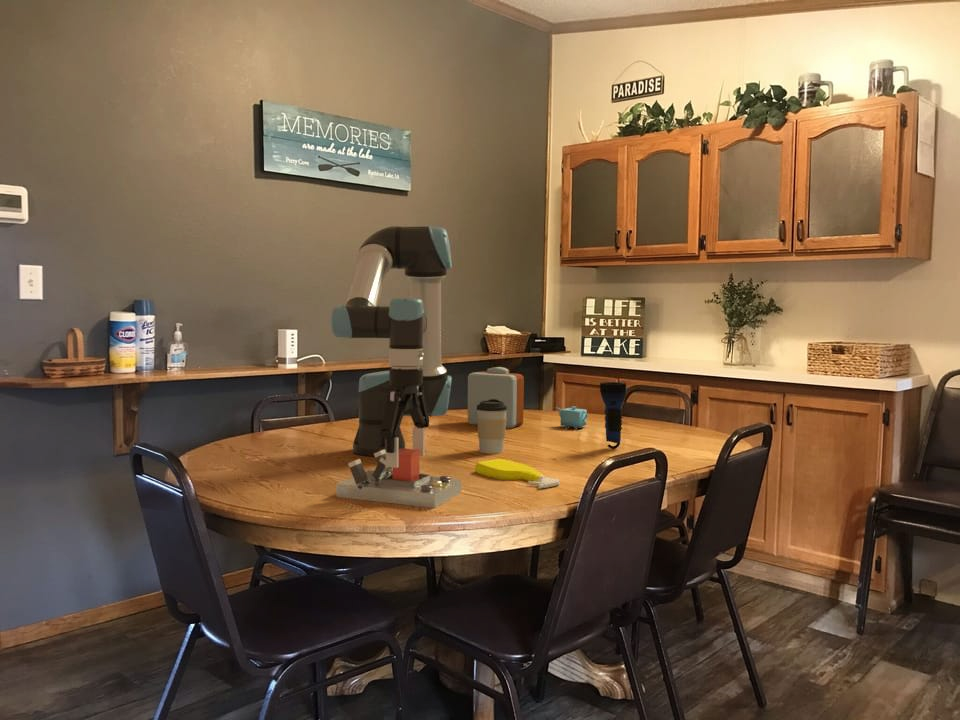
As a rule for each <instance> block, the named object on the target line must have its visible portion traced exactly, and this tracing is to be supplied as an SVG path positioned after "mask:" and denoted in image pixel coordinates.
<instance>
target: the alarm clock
mask: <svg viewBox="0 0 960 720" xmlns="http://www.w3.org/2000/svg"><path fill="white" fill-rule="evenodd" d="M524 385H525V377H524V376H523V375H522V374H520V373H512V372H511V373H510V369H508V368H507V367H502V366H497V367H496V366H495V367H490V368H487V370H486V371H476V372H471V373H469V374H468V376H467V423H469V424H470V425H473V426H478V424H477V417H478V416H477V405H479V404H480V402H481V401H488V400H490V399H497V400H499V401H502V402H504V405H506V406H507V411H506V429H513V428H516V427H519V426H522V425H523V423H524V397H525V395H524V394H525V391H524V390H525V388H524V387H525V386H524Z"/></svg>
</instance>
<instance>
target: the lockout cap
mask: <svg viewBox="0 0 960 720" xmlns="http://www.w3.org/2000/svg"><path fill="white" fill-rule="evenodd" d="M420 453H421V450H416V449H413V448H405V449H403V448H400V449H399V467H398V468H393V467H392V468H393V469H392V471H393V479H395V480H405V481H414V480H416V479H418V478H419V474H420V456H419V454H420Z"/></svg>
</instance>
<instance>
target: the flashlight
mask: <svg viewBox="0 0 960 720" xmlns="http://www.w3.org/2000/svg"><path fill="white" fill-rule="evenodd" d="M599 392H600V396H601V399H602V402H603V404H604V405H605V407H604V414H605V416H604V421H605V423H604V428H605V439H606V440H605V441H606V442H609V443H614V444H615V445H611V444H609V443H608V444H607V448H608V449H611V450H615V449H617V448H619V447H620V445H621V441H622V440H621V438H622V436H621V435H622V430H623V427H622V426H623V420H622V419H623V409H622V405H623V403H624V401H625V398H626V396H627V382H622V381H609V382H608V381H604V382H599Z"/></svg>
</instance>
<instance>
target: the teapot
mask: <svg viewBox="0 0 960 720" xmlns="http://www.w3.org/2000/svg"><path fill="white" fill-rule="evenodd" d="M556 410H557V411H558V414H559V417H560V426H561V427H564V429H569V428H573V429H574V430H579V428H580V429H582V428H583V427H584V426H586V425H587V418H588V413H587V412H588V410H587V409H584V408H577V406H571V407H567V408H562V409H561V408H560V407H556Z"/></svg>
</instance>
